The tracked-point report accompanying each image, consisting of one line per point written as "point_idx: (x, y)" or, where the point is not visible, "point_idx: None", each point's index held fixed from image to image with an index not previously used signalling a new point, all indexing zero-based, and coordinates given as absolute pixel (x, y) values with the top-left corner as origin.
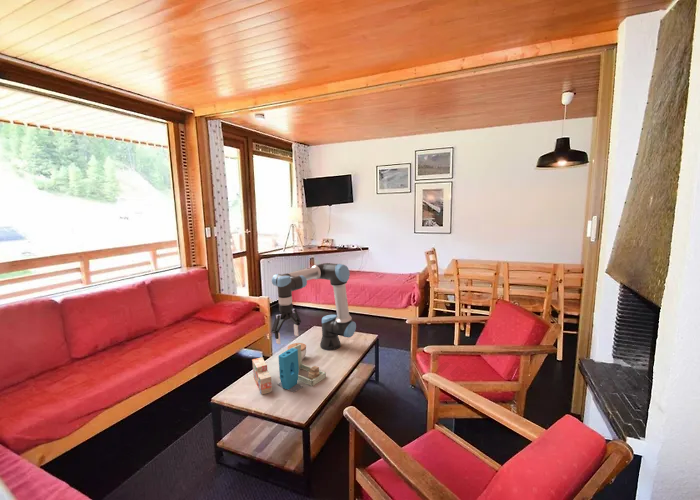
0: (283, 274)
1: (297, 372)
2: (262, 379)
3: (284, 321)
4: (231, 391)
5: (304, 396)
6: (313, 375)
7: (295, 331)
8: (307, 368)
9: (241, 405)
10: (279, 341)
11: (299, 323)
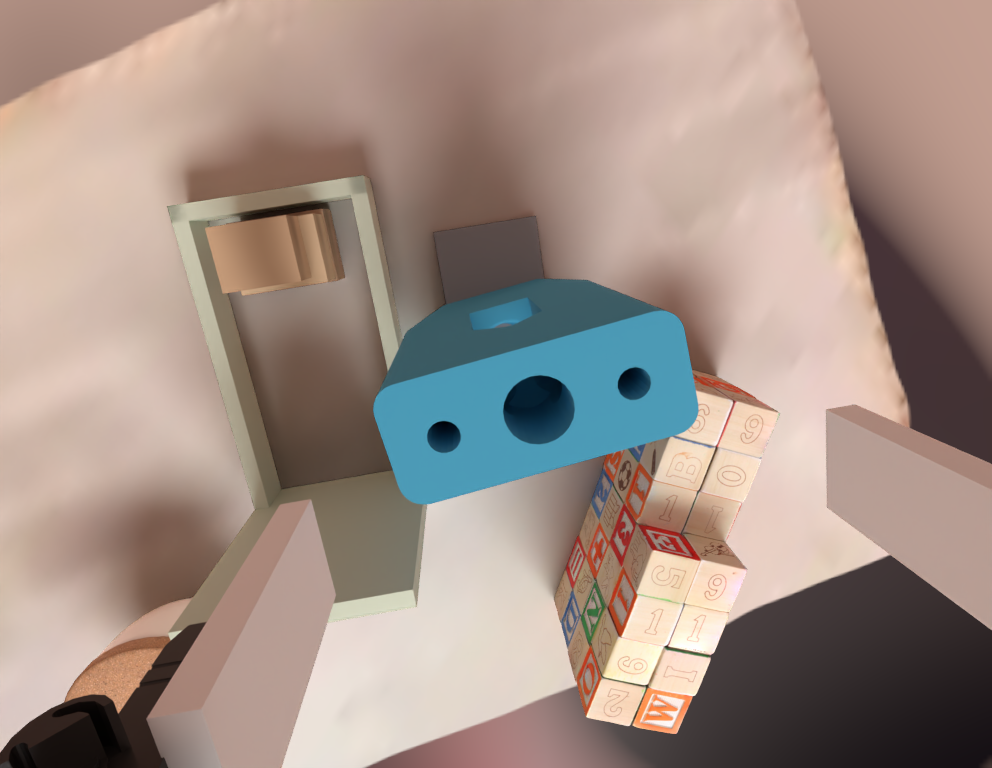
0: None
1: (429, 322)
2: (761, 406)
3: None
4: (818, 559)
5: (508, 97)
6: (310, 214)
7: (299, 620)
8: (252, 421)
9: (875, 359)
10: (901, 427)
11: (22, 761)
